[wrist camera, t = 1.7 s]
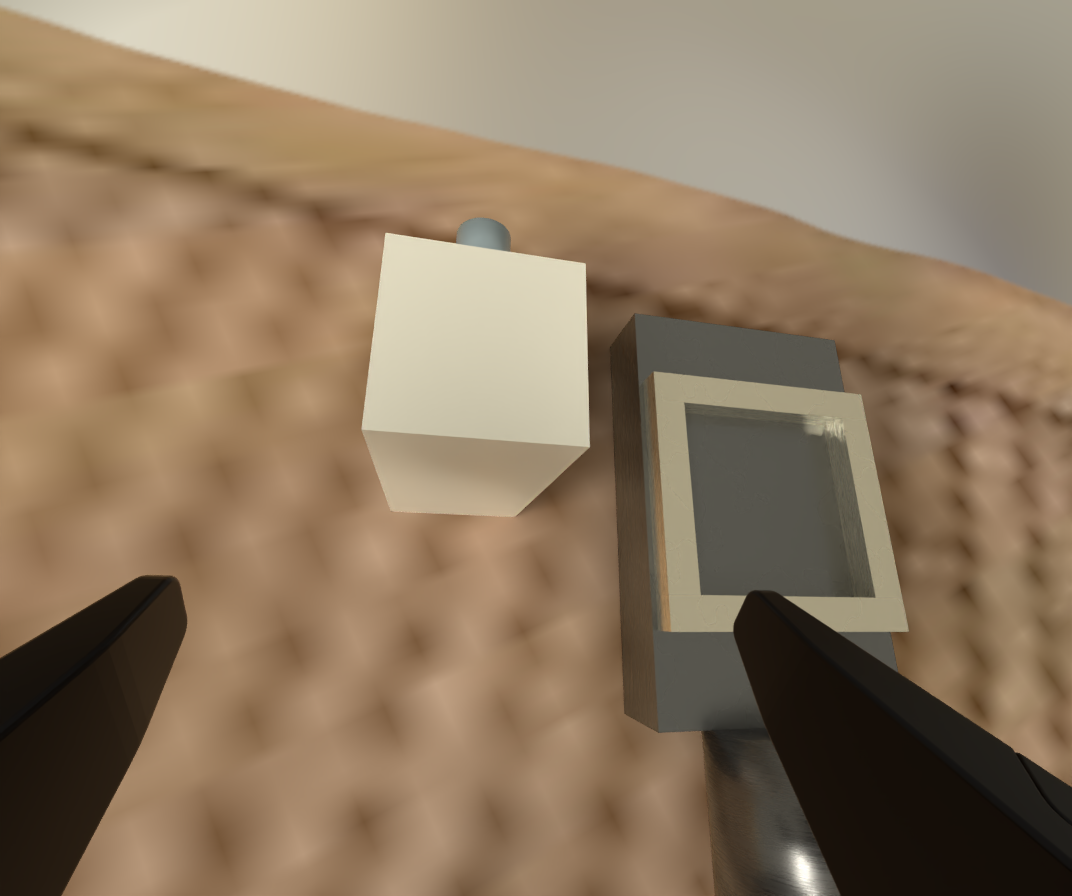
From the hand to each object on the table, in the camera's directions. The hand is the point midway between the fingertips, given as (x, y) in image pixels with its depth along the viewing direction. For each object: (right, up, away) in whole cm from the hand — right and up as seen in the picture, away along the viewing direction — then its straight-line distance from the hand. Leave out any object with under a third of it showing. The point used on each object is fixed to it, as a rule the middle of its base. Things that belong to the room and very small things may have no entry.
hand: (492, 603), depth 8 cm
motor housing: (+9, -4, +14) cm, 17 cm away
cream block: (-3, +2, +13) cm, 13 cm away
